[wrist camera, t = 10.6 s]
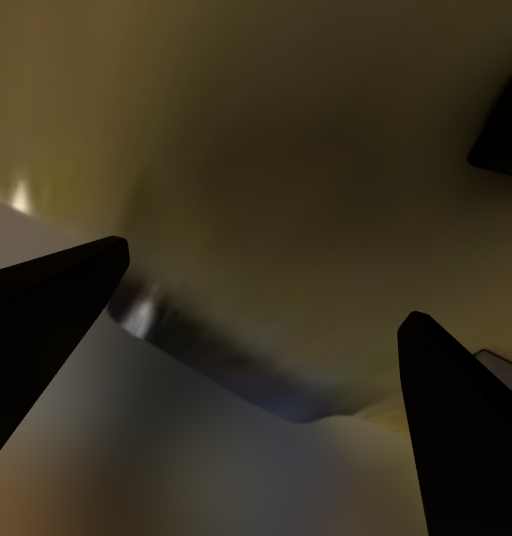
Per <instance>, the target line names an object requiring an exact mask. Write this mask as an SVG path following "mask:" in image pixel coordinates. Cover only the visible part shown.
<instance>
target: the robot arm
mask: <svg viewBox="0 0 512 536" xmlns="http://www.w3.org/2000/svg"><path fill="white" fill-rule="evenodd" d="M485 127H486V128H485V130H484V131H483V133H482V134H481V136H480V137H479V139H478V141H477V142H476V144H475V145H474V147H473V148H472V150H471V152H470V153H469V155H468V157H467V161H468V163H469V164H471V165H472V166H474V167H477V168H482V169H486V170H490V171H494V172H498V173H502V174H507V175H511V176H512V82H511V83H510V85H509V86H508V88H507V90H506V91H505V93H504V94H503V96H502V97H501V99H500V101H499V102H498V104H497V105H496V107H495V109H494V110H493V112H492V113H491V115H490V117H489V118H488V120H487V121H486V123H485ZM481 153H483V156H482V158H481V159H480V160H477V161H476V160H475V159H476V157H477V156H478V155H479V154H481ZM129 263H130V257H129V248H128V242H127V240H126V239H125V238H121V237H117V236H109V237H106V238H103V239H99V240H96V241H93V242H89V243H86V244H83V245H79V246H76V247H73V248H70V249H66V250H63V251H59V252H56V253H53V254H49V255H46V256H43V257H39V258H36V259H33V260H29V261H26V262H23V263H19V264H16V265H13V266H9V267H6V268H3V269H0V450H1V449H2V447H3V446H4V445H5V443H6V442H7V440H8V439H9V438H10V436H11V435H12V434H13V432H14V431H15V430H16V428H17V427H18V425H19V424H20V423H21V421H22V420H23V419H24V417H25V416H26V415H27V413H28V412H29V410H30V409H31V408H32V406H33V405H34V404H35V402H36V401H37V400H38V398H39V397H40V395H41V394H42V393H43V391H44V390H45V389H46V387H47V386H48V385H49V383H50V382H51V380H52V379H53V378H54V376H55V375H56V374H57V372H58V371H59V369H60V368H61V367H62V365H63V364H64V363H65V361H66V360H67V359H68V357H69V356H70V354H71V353H72V352H73V350H74V349H75V348H76V346H77V345H78V343H79V342H80V341H81V340H82V338H83V337H84V335H85V334H86V333H87V331H88V330H89V329H90V327H91V326H92V325H93V323H94V321H95V320H96V319H97V318H98V316H99V315H100V314H101V312H102V311H103V309H104V308H105V307H106V305H107V303H108V302H109V300H110V298H111V297H112V295H113V293H114V291H115V290H116V288H117V286H118V284H119V283H120V281H121V279H122V277H123V276H124V274H125V272H126V270H127V269H128V267H129ZM397 339H398V354H399V369H400V380H401V387H402V392H403V398H404V403H405V409H406V414H407V420H408V425H409V431H410V436H411V442H412V447H413V453H414V458H415V464H416V469H417V475H418V480H419V485H420V491H421V496H422V502H423V507H424V513H425V518H426V523H427V529H428V534H429V536H512V390H511V389H509V388H508V387H507V386H506V385H505V384H504V383H503V382H502V381H501V380H500V379H499V378H497V377H496V376H495V375H494V374H493V373H492V372H491V371H490V370H489V369H488V368H487V367H485V366H484V365H483V364H482V363H481V362H480V361H479V360H478V359H477V358H476V357H474V356H473V355H472V354H471V353H470V352H469V351H468V350H467V349H466V348H465V347H464V346H462V345H461V344H460V343H459V342H458V341H457V340H456V339H455V338H454V337H453V336H452V335H450V334H449V333H448V332H447V331H446V330H445V329H444V328H443V327H442V326H441V325H440V324H438V323H437V322H436V321H435V320H434V319H433V318H432V317H431V316H430V315H428V314H426V313H422V312H418V311H413V312H411V313H410V314H409V315H408V317H407V318H406V319H405V321H404V322H403V323H402V324H401V326H400V327H399V329H398V333H397Z"/></svg>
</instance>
